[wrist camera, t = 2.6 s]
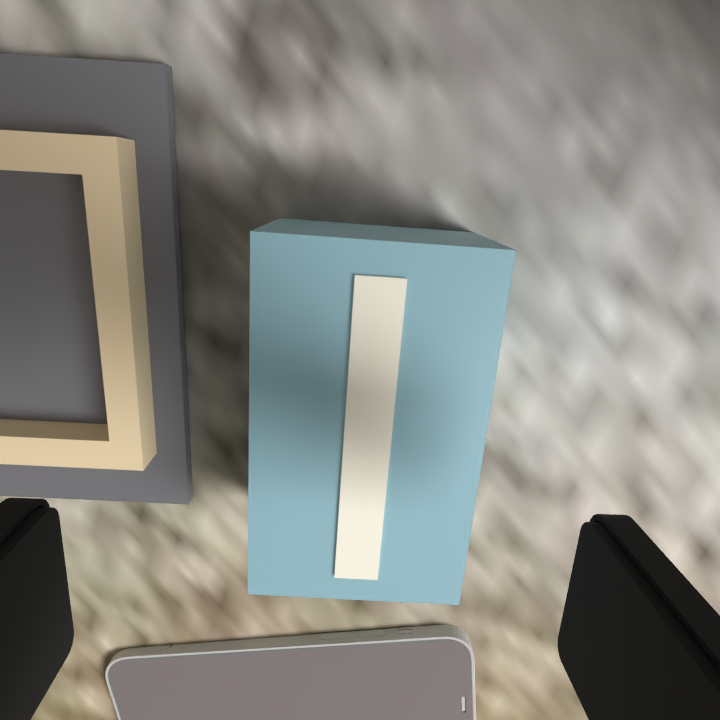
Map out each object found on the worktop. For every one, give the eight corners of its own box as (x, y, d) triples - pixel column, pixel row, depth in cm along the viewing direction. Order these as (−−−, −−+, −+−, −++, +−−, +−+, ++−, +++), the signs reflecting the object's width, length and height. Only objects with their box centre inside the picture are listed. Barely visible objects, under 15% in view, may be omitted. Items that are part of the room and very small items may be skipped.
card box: (280, 217, 17) (248, 231, 12) (470, 231, 17) (517, 250, 12) (273, 495, 20) (247, 596, 15) (434, 504, 20) (459, 607, 15)
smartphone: (98, 657, 21) (473, 633, 21) (108, 638, 22) (469, 615, 22) (139, 785, 24) (477, 767, 23) (147, 764, 25) (473, 746, 24)
